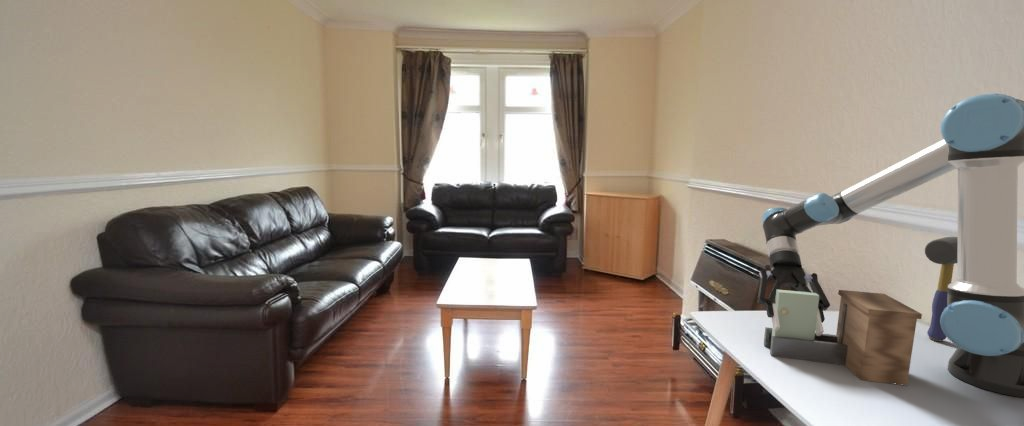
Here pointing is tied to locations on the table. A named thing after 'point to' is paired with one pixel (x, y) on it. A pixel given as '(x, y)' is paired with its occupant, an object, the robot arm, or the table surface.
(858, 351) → the walnut cabinet
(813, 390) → the table surface
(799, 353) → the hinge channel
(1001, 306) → the robot arm
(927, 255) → the rubber mallet
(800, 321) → the cabinet door
